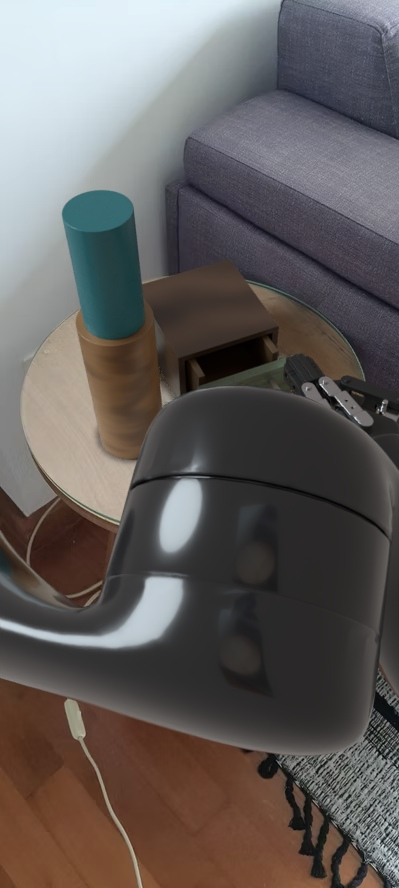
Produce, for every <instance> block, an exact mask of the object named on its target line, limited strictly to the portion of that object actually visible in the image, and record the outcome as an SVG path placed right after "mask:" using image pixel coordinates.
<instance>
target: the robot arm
mask: <svg viewBox="0 0 399 888" xmlns="http://www.w3.org/2000/svg"><path fill="white" fill-rule="evenodd" d="M288 356H289V357H288ZM288 356H286V357H287V358H286V364H284V372H283V377H284V380H285V382H286V383H287V384H288V386H289V387H290V389H291V393H290V392H287V391H283V390H279V389H272V388H265V387H258V386H251V385H224V386H217V387H209V388H203V389H198V390H194V391H190V392H188V393H185V394H183V395H181V396H179V397H177V398H174V399H172V400H170V401H169V402H168V403H167V402H166V404H165V405H163V406H162V409H161V410H160V411H159V413H158V414H157V415H156V416H155V418H154V419H153V421H152V422H151V424H150V426H149V428H148V431H147V433H146V436H145V438H144V441H143V443H142V446H141V449H140V452H139V455H138V458H136V462H135V466H134V469H133V472H132V476H131V480H130V483H129V486H128V490H127V494H126V498H125V502H124V505H123V510H122V513H121V516H120V521H119V524H118V528H117V532H116V535H115V539H114V543H113V546H112V550H111V554H110V558H109V561H108V565H107V569H106V571H105V577H104V581H103V583H102V584H101V585H102V586H101V590H100V593H99V596H98V597H97V599H96V600H95V601H94V602H93V603H91V604H88V605H86V606H82V605H80V604H78V603H77V602H75V601H74V600H72V599H71V598H70V597H68V596H67V595H65V594H64V593H62V592H61V591H60V590H58V589H57V588H56V587H54V586H53V585H52V584H50V583H49V582H48V581H47V580H45V578H43V576H41V575H40V574H39V573H38V572H37V571H36V570H35V569H33V567H32V566H31V565H29V564H28V563H27V562H26V560H24V559H23V557H22V556H21V555H20V554H19V552H18V551H17V550H16V548H14V546H13V545H12V544H11V543H10V541H9V540H8V539H7V537H6V536H5V534H4V533H3V532H2V530H0V679H3V680H6V681H9V682H12V683H16V684H19V685H22V686H26V687H28V688H32V689H36V690H38V691H41V692H45V693H49V694H51V695H55V696H58V697H62V698H65V699H68V700H72V701H74V702H78V703H81V704H84V705H88V706H90V707H93V708H97V709H101V710H104V711H107V712H110V713H113V714H117V715H120V716H123V717H126V718H129V719H133V720H136V721H140V722H142V723H146V724H149V725H152V726H154V727H155V726H156V727H159V728H162V729H164V730H165V729H166V730H169V731H172V732H174V733H175V732H176V733H179V734H181V735H186V736H189V737H192V738H196V739H201V740H205V741H209V742H212V743H216V744H220V745H223V746H228V747H233V748H238V749H241V750H242V749H243V750H247V751H252V752H258V753H267V754H275V755H282V756H290V757H291V756H294V757H316V756H326V755H332V754H336V753H339V752H342V751H345V750H347V749H349V748H351V747H352V746H354V745H356V744H357V743H358V742H359V741H360V740H362V738H363V736H365V733H366V732H367V729H368V728H369V724H370V720H371V716H372V712H373V708H374V702H375V696H376V691H377V681H378V674H379V671H380V674H381V675H382V677H383V678H384V680H385V682H386V684H387V685H388V687H389V688H390V690H391V691H392V692H393V693H394V695H395V696H396V697H397V699H399V424H398V423H399V392H396V391H395V390H391V389H389V388H385V387H382V386H380V385H377V384H374V383H373V382H368V381H366V380H362V379H360V378H357V377H355V376H351V375H349V374H345V375H342V376H341V377H340V379H332V378H331V377H329V376H326V375H325V374H324V372H323V371H322V369H321V368H320V367H319V365H318V364H317V363H316V361H315V360H314V359H313V358H312V357H310V356H308V355H306V356H305V354H304V353H303V352H302V351H301V352H298V353H295V354H292V355H288Z"/></svg>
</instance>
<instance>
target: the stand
mask: <svg viewBox="0 0 399 888" xmlns="http://www.w3.org/2000/svg"><path fill="white" fill-rule="evenodd" d="M144 307H145V321H144V324H143V326H142V327H141V328H140V329H139V330H138V331H137V332H136V333H134V334H133V335H131V336H128V337H126V338H122V339H117V340H107V339H101V338H98V337H96V336H94V335H92V334H91V333H90V332H88V330H87V329H86V328H85V325H84V321H83V316H82V312H81V308H79V310H78V312H77V315H76V316H75V329H76V333H77V337H78V338H77V339H78V342H79V346H80V351H81V355H82V356H81V357H82V360H83V365H84V369H85V375H86V379H87V383H88V388H89V393H90V397H91V402H92V406H93V410H94V416H95V420H96V424H97V429H98V433H99V438H100V442H101V444H102V447H103V448H104V449H105V450H106V451H107V452H108V453H109V454H111V455H112V456H115V457H117V458H119V459H123V460H124V459H125V460H135V459H136V460H137V458H138V455H139V452H140V449H141V446H142V443H143V441H144V438H145V436H146V433H147V431H148V428H149V426H150V424H151V422H152V421H153V419H154V418H155V416H156V415H157V414H158V413H159V411H160V410H161V409H162V408H163V400H162V389H161V388H162V387H161V379H160V378H161V376H160V368H159V366H158V356H157V346H156V335H155V325H154V314H153V311H152V309H151V307H150V306H149V304H148V303H147V302H146V301H144Z"/></svg>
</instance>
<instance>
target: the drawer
mask: <svg viewBox="0 0 399 888" xmlns="http://www.w3.org/2000/svg"><path fill="white" fill-rule="evenodd" d="M279 353H280V350H279V349H278V347H277V348H276V347H275V345H274V344H273V342H272V341H271V340H270V338H269V337H268V335H264V336H261V337H258V338H255V339H251V340H248V341H245V342H242V343H239V344H236V345H233V346H230V347H227V348H223V349H220V350H217V351H214V352H211V353H208V354H205V355H202V356H199V357H195V358H192V359H189V360H186V361H185V375H186V390H187V392H190V391H194V390H198V389H203V388H209V387H217V386H224V385H251V386H258V387H265V388H272V389H279V390H283V391H287V392H290V393H292V390H291V389H290V387H289V386H288V384H287V383H286V382H285V380H284V377H283V372H284V364H286V358H287V357H289V356H290V355H288V356H285V357H282V358H279V355H280V354H279Z"/></svg>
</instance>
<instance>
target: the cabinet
mask: <svg viewBox="0 0 399 888" xmlns="http://www.w3.org/2000/svg"><path fill="white" fill-rule="evenodd" d="M142 289H143V298H144V301H146V302H147V303H148V304H149V306H150V307H151V309H152V311H153V314H154V325H155V335H156V346H157V356H158V366H159V371H160V373H161V374H162V376H163V378H164V379H165V382H166V383H167V385H168V387H169V388H170V390H171V392H172V394H173V397H174V399H176V398H177V397H179V396H181V395H183V394H185V393H188V392H187V390H186V375H185V361H186V360H189V359H192V358H195V357H199V356H202V355H205V354H208V353H211V352H214V351H217V350H220V349H223V348H227V347H230V346H233V345H236V344H239V343H242V342H245V341H248V340H251V339H255V338H258V337H261V336H264V335H268V337H269V338H270V340H271V341H272V342H273V344H274V345H275V347H276V348H277V349H278V340H279V339H278V338H279V330H280V329H279V328H280V326H279V324H278V323H277V322H276V320H275V319H274V317H273V316H272V314H271V313H270V312H269V310H268V309H267V308H266V306H265V305H264V304H263V302H262V301H261V299H260V298H259V297H258V295H257V294H256V293H255V291H254V290H253V288H252V287H251V285H249V283H248V282H247V281H246V279H245V278H244V276H243V275H242V274H241V272H240V271H239V270H238V268H237V267H236V265H235V264H234V263H233V261H232V260H231V258H228V259H224V260H220V261H217V262H214V263H209V264H206V265H203V266H200V267H196V268H193V269H189V270H186V271H183V272H180V273H176V274H173V275H169V276H166V277H162V278H159V279H155V280H152V281H148V282H144V283H142Z"/></svg>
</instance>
